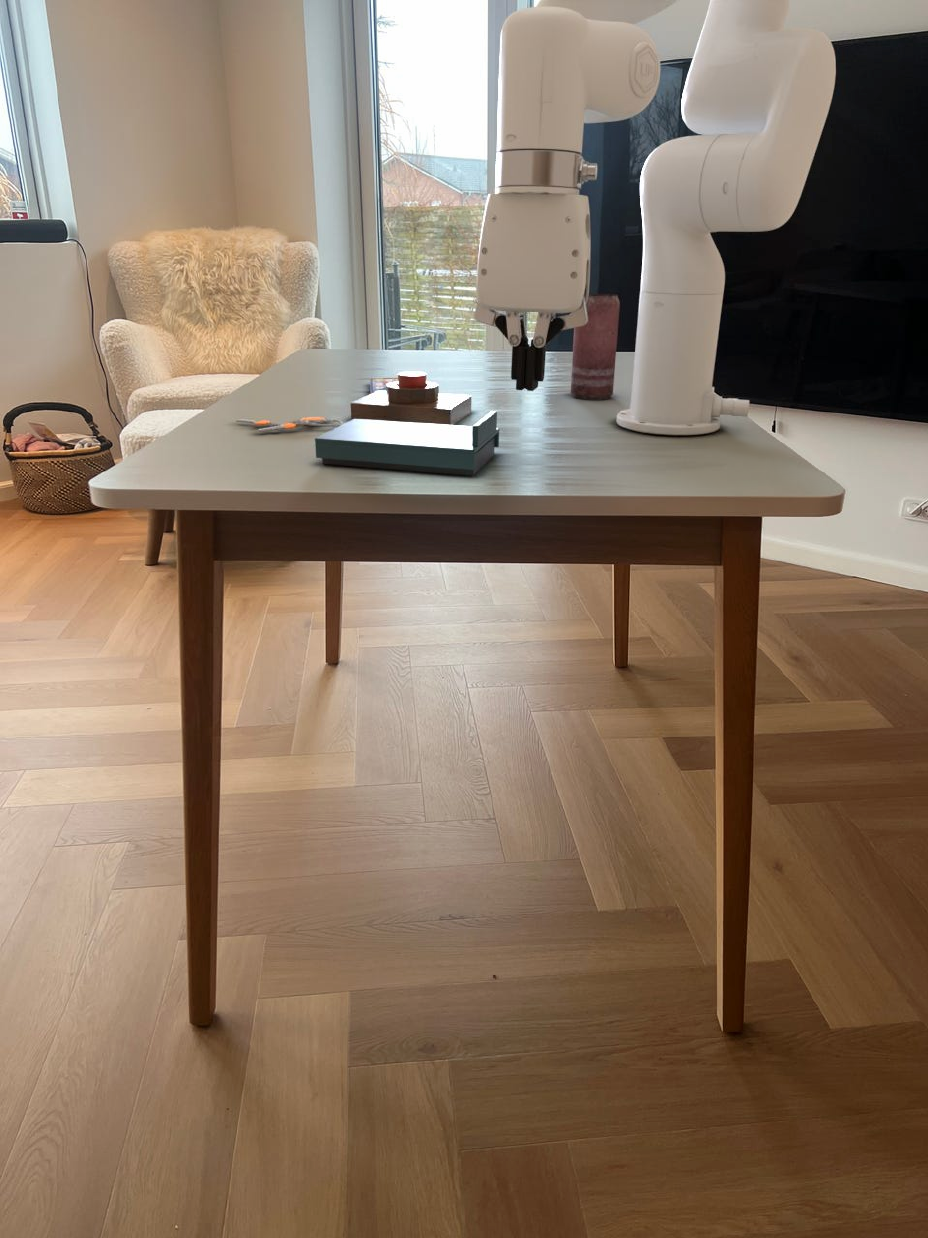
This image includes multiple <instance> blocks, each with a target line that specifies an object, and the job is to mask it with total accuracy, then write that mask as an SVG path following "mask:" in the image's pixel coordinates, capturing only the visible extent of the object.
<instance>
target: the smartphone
mask: <svg viewBox="0 0 928 1238" xmlns="http://www.w3.org/2000/svg"><path fill="white" fill-rule="evenodd" d="M391 382H398V377H379V378H377V377H376V378H375V377H374V378H370V379H369V389H370V394H372V393H374V392H376V391H378V390H382V391H386V384H389V383H391Z"/></svg>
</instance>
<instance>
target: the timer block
mask: <svg viewBox="0 0 928 1238" xmlns="http://www.w3.org/2000/svg"><path fill="white" fill-rule="evenodd" d="M439 389H440V385H439V384H438V383H436V382H431V381H427V380H426V387H416V388H408V387H399V386H398V382H391V383H389V384H386V391H382V390H378V391H376V392H374V393H372V394H371V393H369V394H367V395H365V396H363V397H360V398H358V399H356V400H354V401H352V402H350V420H352V419H367V420H382V421H398V422H413V423H428V424H444V425H457V423H458V422H460V421H461V420H463V419H464V418H465V417H467V416H469V415H470V414H471V413H472V395H469V394H468V395H467V394H451V393H439V392H440V391H439Z"/></svg>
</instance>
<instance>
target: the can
mask: <svg viewBox="0 0 928 1238" xmlns="http://www.w3.org/2000/svg"><path fill="white" fill-rule="evenodd" d="M618 296H619V295H618V294H608V293H606V294H605V293H589V294H588V300H587V303H586V309H587V315H588V322H587V324H585V325H583V326H580V327H576V328H573V343H572V359H571V360H572V361H571V376H570V378H571V379H570V394H571V396H572V397H573V398H575V399H580V400H590V401H600V400H608V399H610V398H611V397H612V396H613V394H614V385H615V370H616V359H617V358H616V357H617V345H618V334H619V333H618V332H619V319H620V308H621V307H620V306H621V305H620V304H621V301H620V299H619V297H618Z"/></svg>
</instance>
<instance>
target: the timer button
mask: <svg viewBox="0 0 928 1238" xmlns="http://www.w3.org/2000/svg"><path fill="white" fill-rule="evenodd" d="M397 378H398V386H399V387H408V388H416V387H426V381H427V373H426V372H424V371H423V372H422V371H402V372H399V373H397Z"/></svg>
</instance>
